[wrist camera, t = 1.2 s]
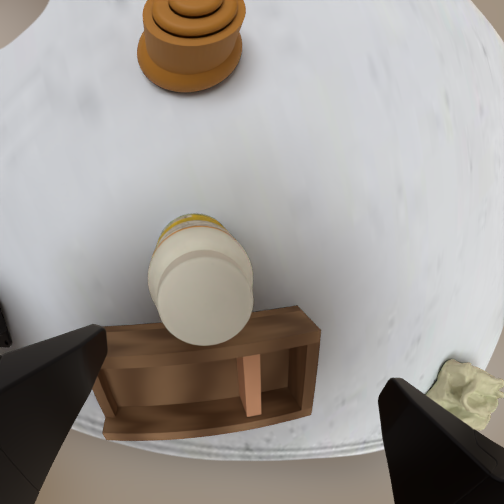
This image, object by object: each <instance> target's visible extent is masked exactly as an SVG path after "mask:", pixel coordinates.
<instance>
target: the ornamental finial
mask: <svg viewBox="0 0 504 504" xmlns="http://www.w3.org/2000/svg"><path fill="white" fill-rule="evenodd" d="M245 13H246V8H245V3H244V1H243V0H147V2H146V4H145V6H144V9H143V24H144V32H143V33H142V35H141V37H140V40H139V43H138V48H137V58H138V62H139V65H140V68H141V70H142V71H143V73H144V74H145V76H146V77H147V78H148V79H149V80H150V81H152V82H153V83H154V84H156V85H158V86H160V87H162V88H164V89H167V90H171V91H176V92H195V91H200V90H204V89H207V88H210V87H212V86H214V85H216V84H218V83H220V82H221V81H223V80H224V79H225V78H227V77H228V76H229V75H230V74H231V73H232V71H233V70H234V69H235V67H236V66H237V64H238V62H239V60H240V57H241V53H242V39H241V35H240V33H239V31H240V28H241V25H242V23H243V20H244V17H245Z"/></svg>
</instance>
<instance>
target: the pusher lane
mask: <svg viewBox="0 0 504 504" xmlns="http://www.w3.org/2000/svg"><path fill="white" fill-rule="evenodd" d="M104 328H105V329H106V334H107V346H108V352H107V356H106V358H105V360H104V363H103V365H102V367H101V369H100V372H99V374H98V376H97V378H96V381H95V383H94V386H93V388H92V390H93V392H94V394H95V396H96V399H97V401H98V403H99V405H100V407H101V409H102V411H103V413H104V415H105V422H104V427H103V432H102V433H103V435H104V437H105V438H106V440H119V441H148V440H171V439H184V438H195V437H204V436H212V435H220V434H227V433H233V432H239V431H245V430H250V429H255V428H260V427H265V426H269V425H274V424H278V423H282V422H286V421H290V420H294V419H298V418H302V417H305V416H309V415H311V413H312V406H313V399H314V391H315V383H316V375H317V366H318V357H319V347H320V337H321V330H320V328H319V327H318V326H317V325H316V324H315V323H314V322H313V321H312V320H311V319H310V318H309V317H308V316H307V315H306V314H305V313H304V312H303V311H302V310H301V309H300V308H299V307H298V306H291V307H284V308H278V309H271V310H265V311H258V312H252V313H251V316H250V318H249V320H248V322H247V323H246V325H245V326H244V328H243V329H242V330H241V331H240V332H239V333H238V334H236V335H235V336H234V337H232V338H231V339H229V340H227V341H225V342H223V343H219V344H215V345H209V346H201V345H193V344H190V343H187V342H184V341H182V340H180V339H178V338H177V337H175V336H174V335H173V334H171V333H170V332H169V330H168V329H167V328H166V327H165V325H164V324H163V322H162V323H150V324H137V325H122V326H105V327H104ZM257 354H260V374H261V414H260V415H255V416H250V417H247V415H246V412H245V410H244V407H243V404H242V401H241V398H240V395H239V384H238V372H237V359H236V358H239V357H245V356H251V355H257Z"/></svg>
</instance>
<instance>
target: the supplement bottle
mask: <svg viewBox="0 0 504 504" xmlns="http://www.w3.org/2000/svg"><path fill="white" fill-rule="evenodd" d="M252 285H253V272H252V266H251V263H250V260H249V258H248V256H247V254H246V252H245V250H244V249H243V247H242V246H241V245H240V244H239V243H238V242H237V241H236V240H235V239H234V237H233V236H232V235H231V234H230V233H229V232H228V231H227V230H226V229H225V228H224V227H223V226H222V225H221V224H220V223H219V222H218V221H217V220H215V219H214V218H212V217H210V216H207V215H204V214H186V215H182V216H180V217H178V218H176V219H174V220H173V221H172V222H170V223H169V224H168V225H167V226H166V227H165V229H164V230H163V232H162V233H161V235H160V237H159V240H158V243H157V245H156V248H155V251H154V253H153V256H152V258H151V262H150V265H149V270H148V287H149V291H150V295H151V297H152V300H153V302H154V303H155V305H156V307H157V308H158V312H159V316H160V318H161V320H162V322H163V324H164V325H165V327H166V328H167V329H168V330H169V332H170V333H171V334H173V335H174V336H175V337H177V338H178V339H180V340H182V341H184V342H187V343H190V344H193V345H201V346H209V345H215V344H219V343H223V342H225V341H227V340H229V339H231V338H232V337H234V336H235V335H236V334H238V333H239V332H240V331H241V330H242V329H243V328H244V326H245V325H246V323H247V322H248V320H249V318H250V316H251V313H252V309H253V302H254V301H253V292H252Z"/></svg>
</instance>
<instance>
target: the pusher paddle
mask: <svg viewBox="0 0 504 504" xmlns="http://www.w3.org/2000/svg"><path fill="white" fill-rule="evenodd" d="M236 359H237V372H238V384H239V395H240V398H241V401H242V404H243V407H244V410H245V412H246V415H247V417H250V416H255V415H260V414H261V374H260V354H257V355H251V356H245V357H239V358H236Z"/></svg>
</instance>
